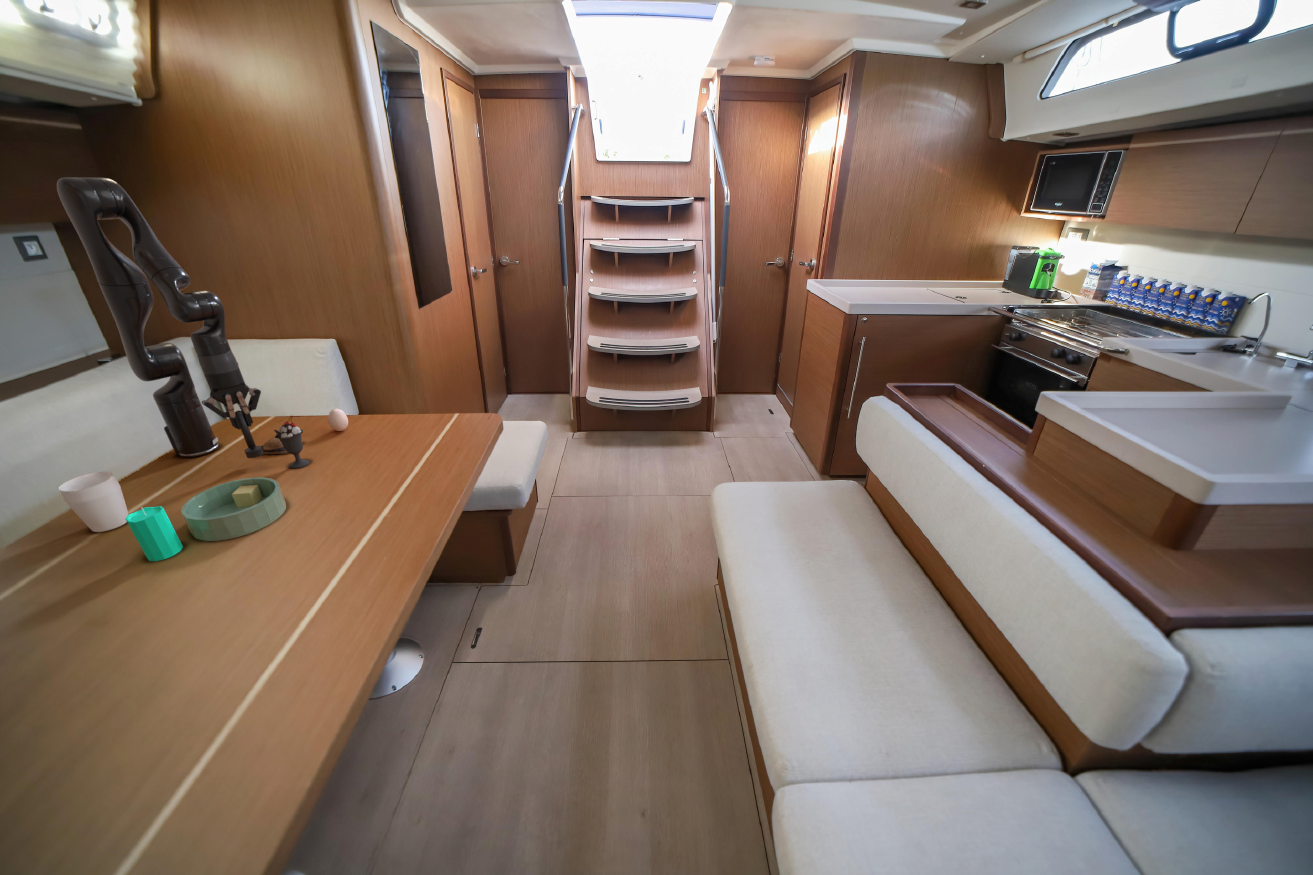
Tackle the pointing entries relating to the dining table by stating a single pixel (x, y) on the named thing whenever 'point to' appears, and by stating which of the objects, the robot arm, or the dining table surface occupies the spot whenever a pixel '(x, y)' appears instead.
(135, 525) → the candle
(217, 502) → the bowl
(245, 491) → the block
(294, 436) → the sundae
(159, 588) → the dining table surface
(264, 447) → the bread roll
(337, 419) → the egg
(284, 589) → the dining table surface
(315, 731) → the dining table surface
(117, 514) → the cup
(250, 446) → the dark grey plunger
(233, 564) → the dining table surface
